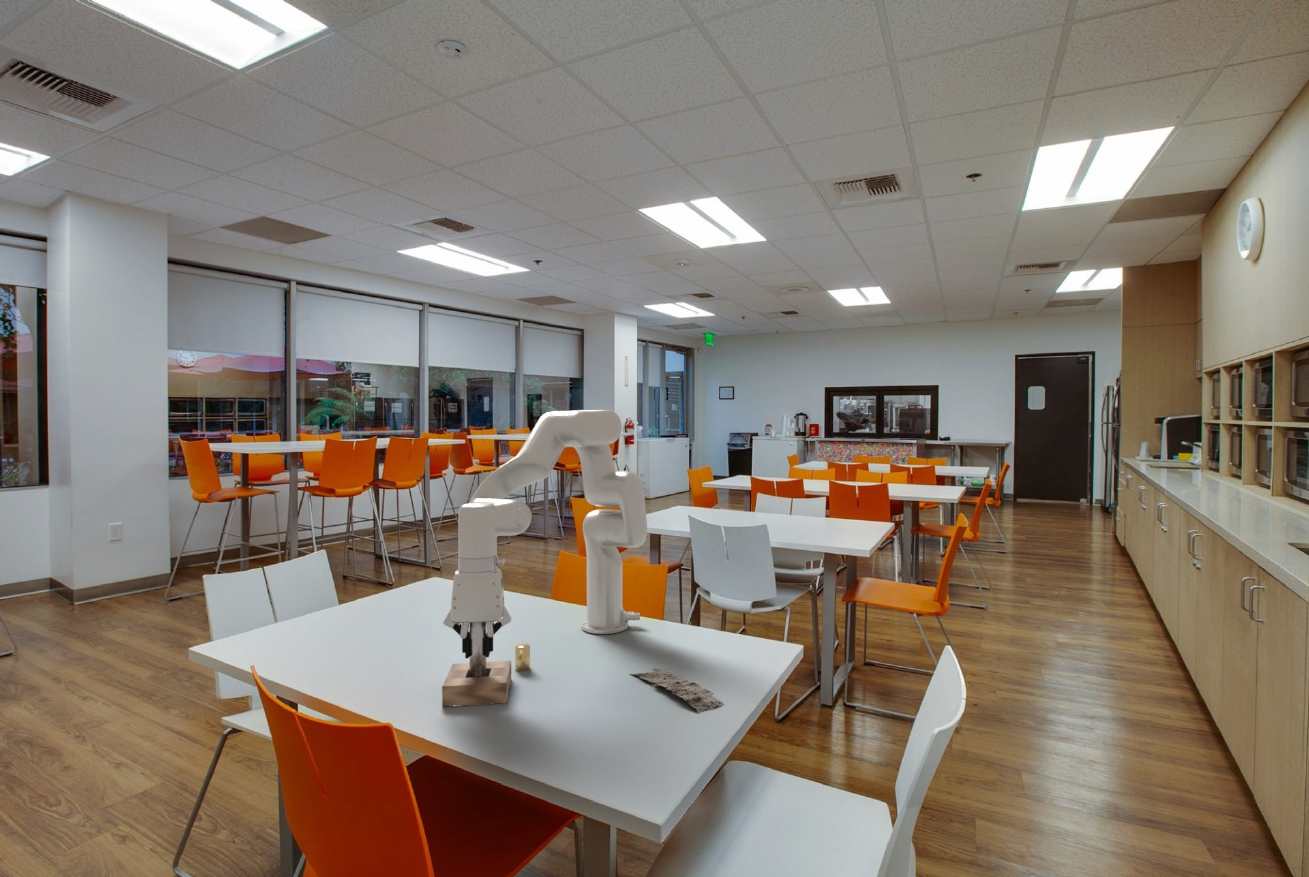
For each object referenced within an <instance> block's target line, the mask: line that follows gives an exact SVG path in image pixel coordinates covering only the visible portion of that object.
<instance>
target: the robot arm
mask: <svg viewBox="0 0 1309 877" xmlns="http://www.w3.org/2000/svg"><path fill="white" fill-rule="evenodd" d="M622 428H623V425H622V420H621V418H620V416H619V415H618V413H617V412H615V411H614V410H611V409H576V410H574V409H573V410H553V411H549V412H545V413H544V414H542V415H541V416H540V417H539V418H538V420H537V421H536V423H535V426H534V427H533V428H532V430H531V431H530V433H529V435H528V437H527V438H526V440H525V442H524V443H523V444H522V446H521V448H520V449H519V452H518V453H517V454H516V456H514V457H512V458H511V459H510V460H508V461H506V462H505V463H504V464H502V465H501V466H499V467H498V468H496V469H495V470H494V471H493V472H491V473H490V474H489V475H488V476H486V477H485V478H484V479H483V481H482V482H481V483H479V484H480V485H479V486H478V487H477V488H476V490H475V492H474V494H473V495H472V497H471V498H470V501H469V503H464V504H462V505H461V506H459V509H458V514H457V516H458V517H457V519H458V520H457V524H458V525H457V526H458V527H457V528H458V529H457V530H458V531H457V539H458V540H457V542H458V543H457V544H458V547H457V551H458V554H457V555H458V557H457V558H458V559H457V561H458V565H457V566H458V568H457V570H456V571H455V572H454V576H453V582H452V590H451V600H450V601H451V603H450V610H449V611H448V613H447V615H446V617H445V618H444V620H443V623H442V624H443V625H444V626H446V627H448V628H450V629H452V630H453V631H454V632H456V634H458V635H459V636H460V639H461V643H462V644H461V648H462V649H461V650H462V654H464V657H465V659H470V623H474V622H486V637H485V657H486V658H489V657H490V655H491V652H494V635H496V633H498V631H499V630H501V628H503V627H504V626H506V625H509V623H511V621H512V616H511V614H510V613H509V611H508V609H507V608H506V606H505V590H504V580H503V573H502V570H501V569H500V568H498V567H500V566H504V565H505V558H503V557H499V556H498V537H499V536H500V537H501V536H502V537H503V536H504V537H506V536H512V537H513V536H517V535H518V536H519V534H520V535H521V534H522V533H524V532H526V530H527V529H528V528H529V526H530V525H531V522H532V518H533V516H532V511H531V509H530V507H529V506H528V505H527V503H525V502H524V501H522V500H521V501H520V500H518V499H509V498H508V499H507V498H506V497H508V496H509V495H511V494H512V493H513V492H516V491H517V490H519V489H522V488H525V487H528V486H530V485H534V484H536V483H538V482H541V481H543V480H545V479H546V478H548V477H549V475H550V474H551V473H552V471H553V469H554V467H555V465H556V463H557V462H558V460H559V458H560V456H561V454H562V453H563V451H564V449H565V448H574V450H575V451H576V452H577V455H578V458H579V462H580V467H581V469H580V470H581V475H582V477H581V478H582V485H583V492H584V498H585V500H586V502H587V503H589V504H590V505H592V506H597V507H605V509H601V508H598V509H594V510H592V511H590V512H588V513H587V514H586V515H585V517H584V519H583V522H582V534H583V539H584V543H585V551H586V552H585V553H586V554H585V555H586V619H585V620H583V621H581V624H580V625H581V627H580V628H581V629H582V631H584V632H586V633H590V634H596V635H612V634H617V633H622V632H623V631H625V630H627V629H628V628H629V621H640V620H641V614H640V612H635V611H626V610H625V609H624V607H623V560H622V556H621V554H620V552H619V549H618V547H619V548H629V549H635V548H639V547H641V546H643V544H644V543H645V542H646V538H647V536H648V520H647V512H646V511H647V510H646V500H645V499H646V497H645V491H644V486H643V482H642V480H641V478H640V477H639V475H638V474H636V473H635V472H633V471H627V470H616V469H615V465H614V458H613V453H612V450H611V449H612V448H611V446H610V445H612V444H615V442H616V441H617V440H618V439H619V438H620V436H621V434H622V431H623V430H622ZM606 507H607V508H619V509H620V510H617V509H606Z"/></svg>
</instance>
